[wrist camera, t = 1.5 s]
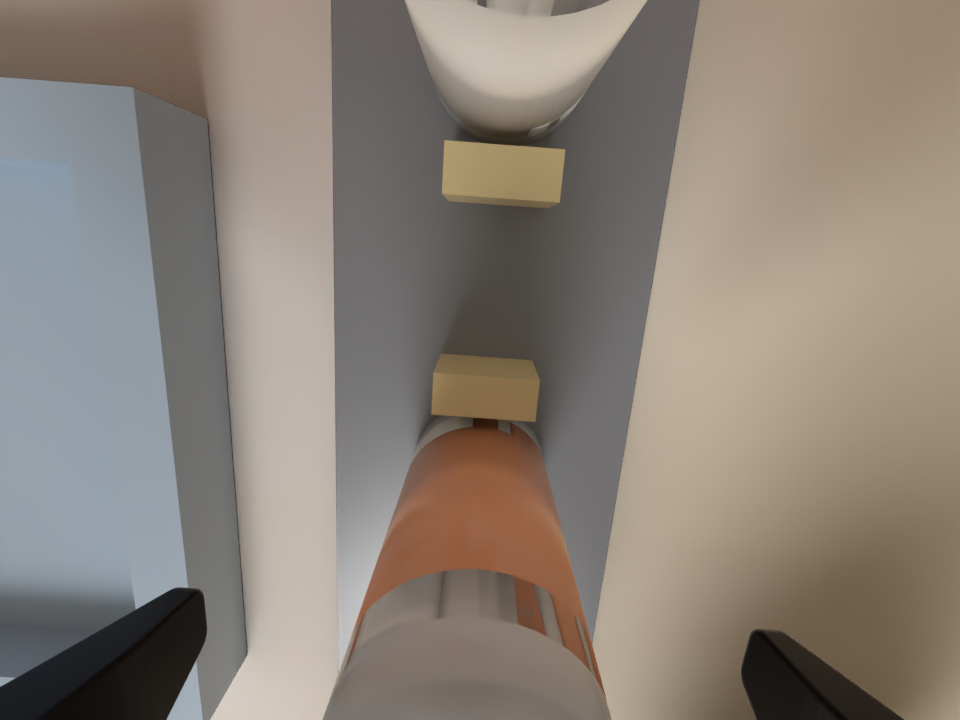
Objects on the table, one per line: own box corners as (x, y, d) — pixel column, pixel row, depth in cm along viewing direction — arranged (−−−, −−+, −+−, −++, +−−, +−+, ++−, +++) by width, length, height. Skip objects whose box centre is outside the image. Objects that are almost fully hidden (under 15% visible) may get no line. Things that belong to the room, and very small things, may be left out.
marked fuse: (535, 524, 13) (605, 927, 5) (412, 515, 13) (305, 907, 5) (549, 408, 12) (657, 695, 5) (416, 398, 12) (296, 669, 5)
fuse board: (560, 774, 17) (574, 875, 14) (347, 759, 17) (321, 857, 14) (694, -64, 10) (767, -173, 8) (344, -92, 10) (294, -210, 8)
